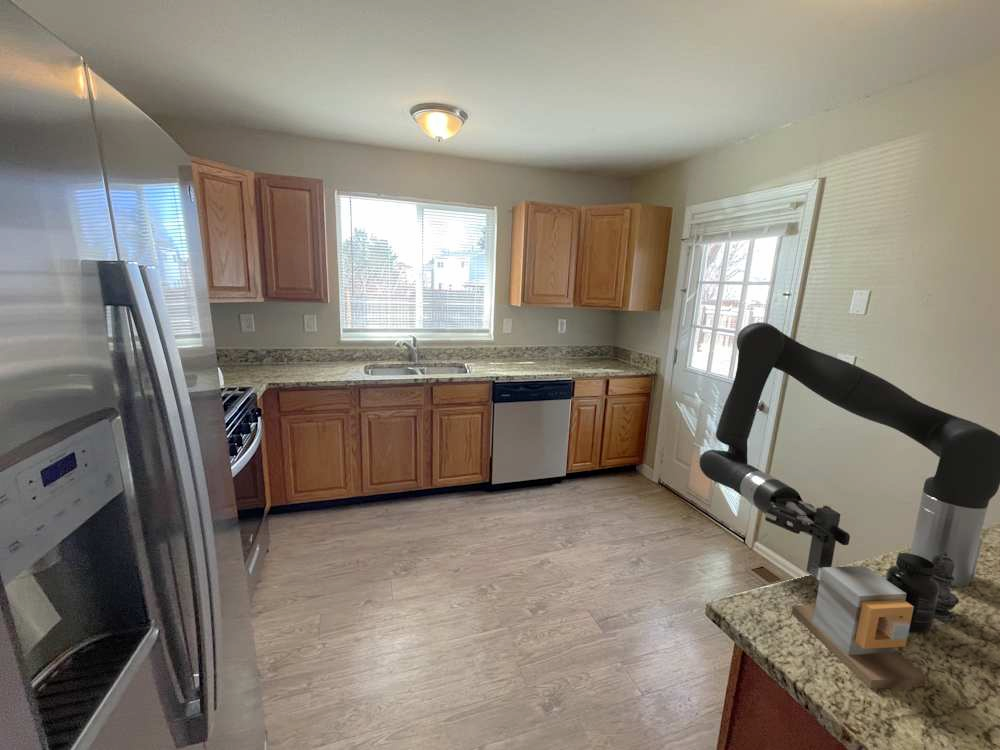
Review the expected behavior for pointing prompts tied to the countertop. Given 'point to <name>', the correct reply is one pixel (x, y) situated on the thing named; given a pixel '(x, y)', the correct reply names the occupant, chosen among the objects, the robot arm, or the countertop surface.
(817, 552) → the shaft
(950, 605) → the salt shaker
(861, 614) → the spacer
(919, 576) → the supplement bottle
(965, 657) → the countertop surface
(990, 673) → the countertop surface
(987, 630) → the countertop surface
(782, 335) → the robot arm
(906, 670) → the stand
